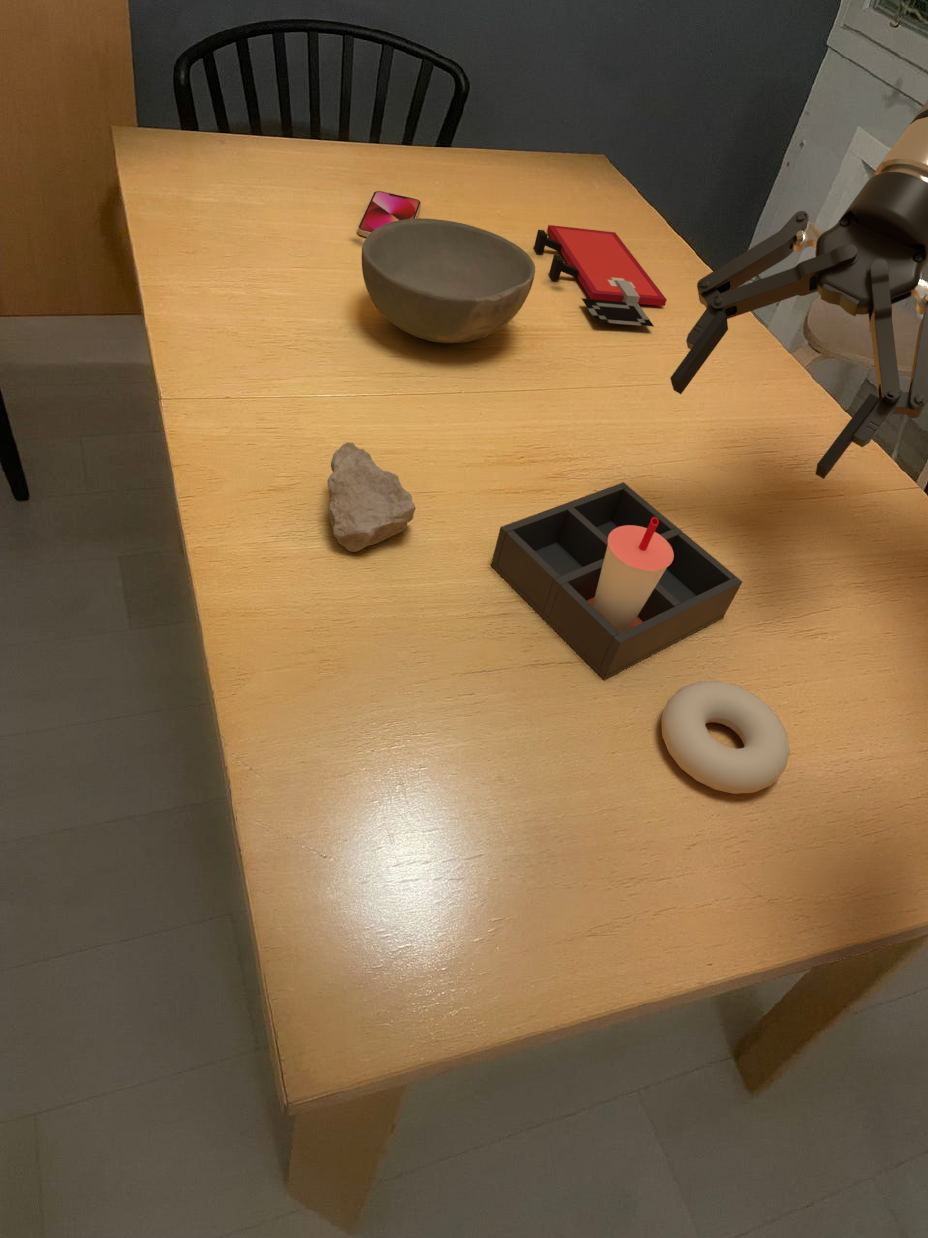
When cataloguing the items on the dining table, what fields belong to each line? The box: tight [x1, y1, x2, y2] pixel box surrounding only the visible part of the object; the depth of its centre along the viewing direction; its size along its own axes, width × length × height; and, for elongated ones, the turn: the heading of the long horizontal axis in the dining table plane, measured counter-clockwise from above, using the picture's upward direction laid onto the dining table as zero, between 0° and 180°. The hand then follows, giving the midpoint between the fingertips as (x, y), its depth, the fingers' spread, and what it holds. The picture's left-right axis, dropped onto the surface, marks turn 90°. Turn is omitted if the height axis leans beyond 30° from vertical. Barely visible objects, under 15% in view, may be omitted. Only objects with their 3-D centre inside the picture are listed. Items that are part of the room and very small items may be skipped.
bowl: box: [361, 217, 536, 344], centre depth 105 cm, size 20×20×10 cm
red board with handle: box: [533, 224, 668, 327], centre depth 125 cm, size 30×3×15 cm
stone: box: [327, 442, 416, 553], centre depth 79 cm, size 10×8×6 cm
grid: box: [490, 481, 743, 681], centre depth 78 cm, size 15×15×5 cm
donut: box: [660, 680, 791, 795], centre depth 68 cm, size 10×4×10 cm
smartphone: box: [357, 190, 422, 238], centre depth 128 cm, size 7×1×15 cm
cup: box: [593, 517, 674, 633], centre depth 71 cm, size 5×5×12 cm
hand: (745, 428), depth 70 cm, fingers open, 13 cm apart
